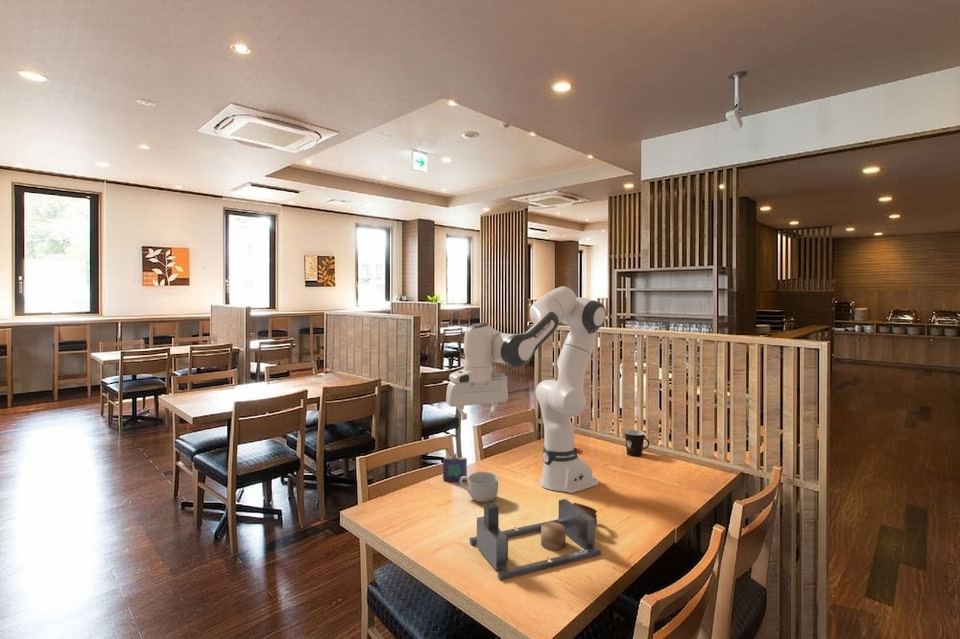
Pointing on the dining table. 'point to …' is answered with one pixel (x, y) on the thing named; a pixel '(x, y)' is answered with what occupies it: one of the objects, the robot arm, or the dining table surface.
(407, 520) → the dining table surface
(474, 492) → the teacup
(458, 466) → the flask
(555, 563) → the press frame
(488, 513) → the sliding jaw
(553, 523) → the brown short cylinder
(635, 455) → the coffee mug
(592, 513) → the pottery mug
